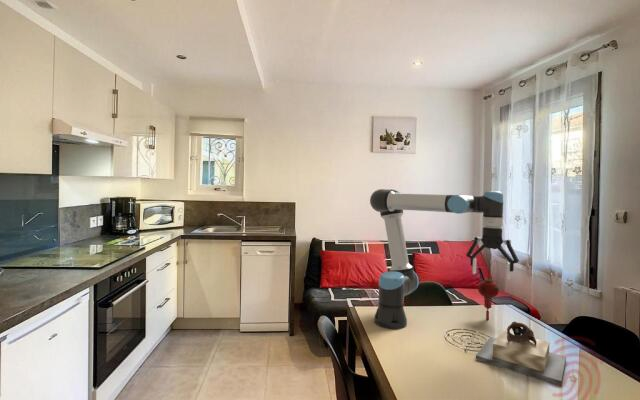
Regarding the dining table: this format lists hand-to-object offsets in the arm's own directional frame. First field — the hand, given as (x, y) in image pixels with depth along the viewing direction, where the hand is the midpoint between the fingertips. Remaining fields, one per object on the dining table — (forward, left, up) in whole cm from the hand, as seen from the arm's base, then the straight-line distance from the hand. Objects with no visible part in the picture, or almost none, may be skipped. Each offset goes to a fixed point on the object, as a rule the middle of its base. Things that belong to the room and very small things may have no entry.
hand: (491, 276), depth 145 cm
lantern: (-6, +23, -27) cm, 36 cm away
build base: (+14, -14, -27) cm, 33 cm away
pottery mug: (+14, -14, -20) cm, 28 cm away
